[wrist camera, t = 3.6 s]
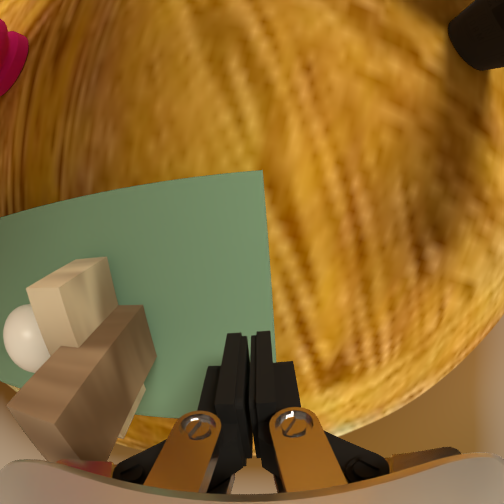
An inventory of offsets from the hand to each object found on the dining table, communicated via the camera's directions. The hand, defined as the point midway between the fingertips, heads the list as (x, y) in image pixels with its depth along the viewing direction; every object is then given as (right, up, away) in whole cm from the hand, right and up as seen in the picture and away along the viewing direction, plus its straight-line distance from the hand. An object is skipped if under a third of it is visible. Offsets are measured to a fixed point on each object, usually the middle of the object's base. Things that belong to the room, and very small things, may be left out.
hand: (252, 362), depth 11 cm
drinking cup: (+17, +21, +2) cm, 27 cm away
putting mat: (-14, +1, +8) cm, 16 cm away
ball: (-12, -1, +1) cm, 13 cm away
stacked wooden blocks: (-7, 0, +3) cm, 7 cm away
